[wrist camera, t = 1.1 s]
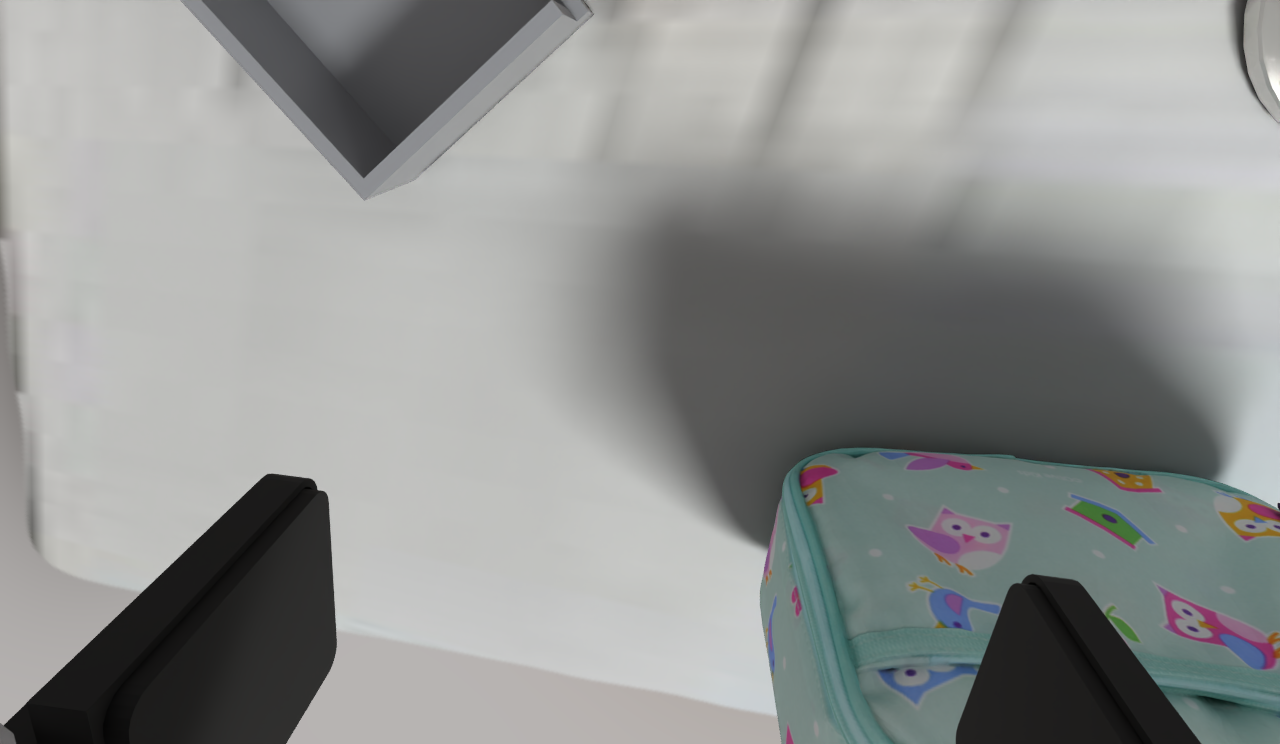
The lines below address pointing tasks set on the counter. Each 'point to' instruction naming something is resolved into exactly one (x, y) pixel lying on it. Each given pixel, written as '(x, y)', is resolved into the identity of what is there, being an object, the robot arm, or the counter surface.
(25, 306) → the counter surface
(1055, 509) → the lunch box
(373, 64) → the box
